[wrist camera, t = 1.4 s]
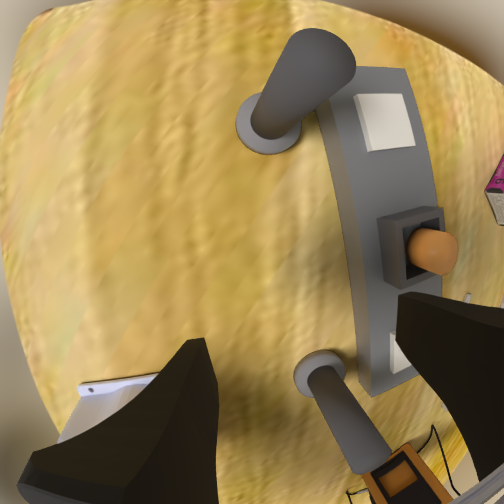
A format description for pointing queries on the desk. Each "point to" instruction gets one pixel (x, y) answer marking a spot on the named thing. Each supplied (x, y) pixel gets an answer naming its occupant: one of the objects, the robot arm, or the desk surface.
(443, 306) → the robot arm
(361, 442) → the cord stand
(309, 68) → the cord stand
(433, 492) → the multimeter
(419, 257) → the breaker button
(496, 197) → the candy bar box
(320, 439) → the desk surface
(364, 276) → the power strip
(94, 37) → the desk surface
